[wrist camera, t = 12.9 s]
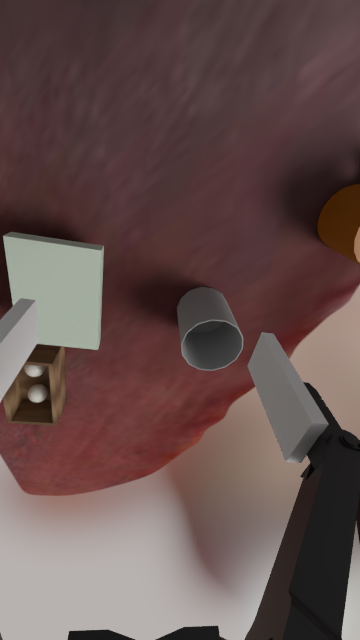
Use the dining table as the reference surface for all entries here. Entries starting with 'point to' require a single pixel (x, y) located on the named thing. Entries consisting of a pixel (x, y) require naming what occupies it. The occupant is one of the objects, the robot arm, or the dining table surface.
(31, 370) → the ball
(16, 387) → the walnut box
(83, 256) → the lid
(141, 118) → the dining table surface
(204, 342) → the cup
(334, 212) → the mug
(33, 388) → the ball
